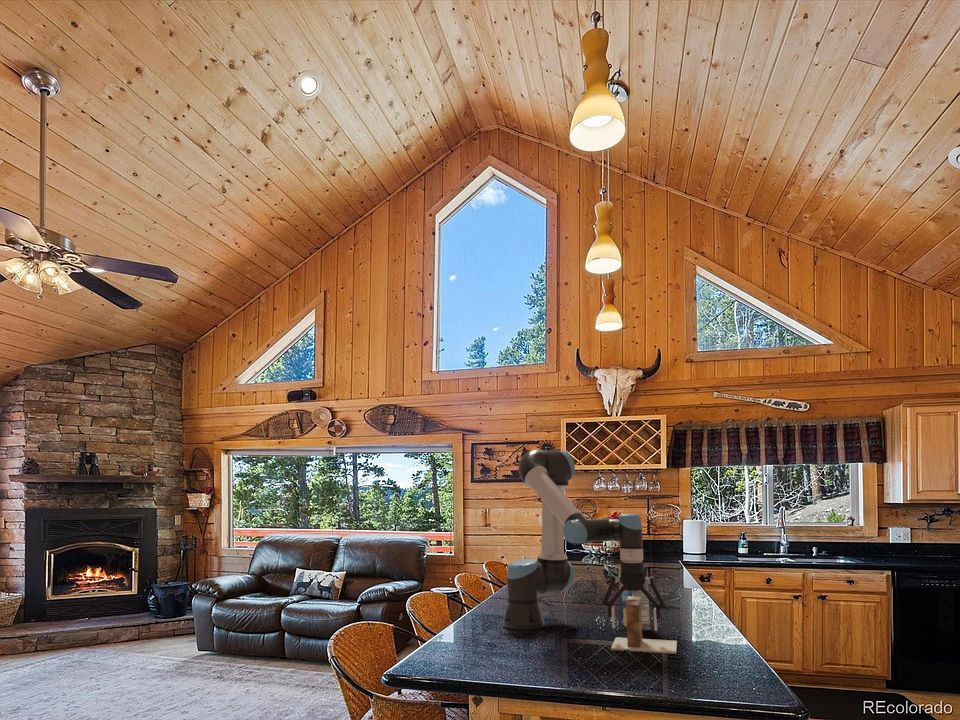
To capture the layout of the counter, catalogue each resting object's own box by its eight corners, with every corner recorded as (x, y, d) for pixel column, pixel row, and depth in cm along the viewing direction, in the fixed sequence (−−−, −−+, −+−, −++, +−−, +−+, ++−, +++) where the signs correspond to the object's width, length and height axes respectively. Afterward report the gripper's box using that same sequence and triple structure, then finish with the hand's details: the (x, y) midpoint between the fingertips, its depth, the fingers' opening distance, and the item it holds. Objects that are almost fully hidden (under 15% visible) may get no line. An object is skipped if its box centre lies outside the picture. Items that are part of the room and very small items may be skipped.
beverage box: (632, 631, 249) (630, 567, 253) (620, 624, 260) (618, 563, 263) (650, 630, 250) (647, 566, 254) (637, 623, 261) (635, 563, 265)
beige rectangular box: (627, 646, 224) (625, 601, 226) (630, 639, 233) (628, 596, 236) (640, 647, 223) (638, 601, 225) (642, 640, 232) (640, 596, 235)
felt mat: (611, 649, 223) (611, 647, 223) (615, 639, 237) (615, 637, 237) (676, 653, 217) (676, 651, 217) (677, 642, 231) (676, 640, 232)
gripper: (592, 561, 232) (595, 628, 229) (670, 563, 225) (673, 633, 222) (595, 559, 239) (597, 624, 236) (670, 561, 232) (674, 628, 229)
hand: (634, 628), depth 229 cm, fingers open, 13 cm apart
